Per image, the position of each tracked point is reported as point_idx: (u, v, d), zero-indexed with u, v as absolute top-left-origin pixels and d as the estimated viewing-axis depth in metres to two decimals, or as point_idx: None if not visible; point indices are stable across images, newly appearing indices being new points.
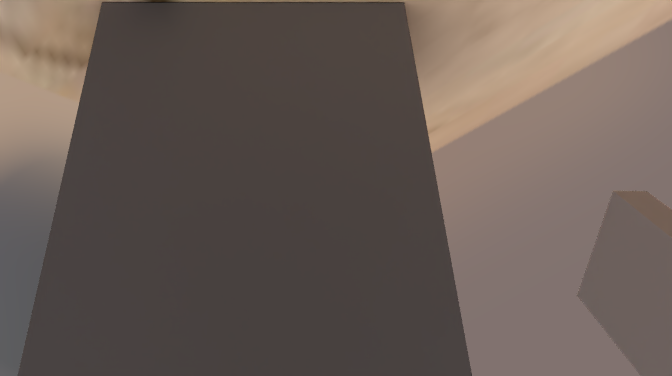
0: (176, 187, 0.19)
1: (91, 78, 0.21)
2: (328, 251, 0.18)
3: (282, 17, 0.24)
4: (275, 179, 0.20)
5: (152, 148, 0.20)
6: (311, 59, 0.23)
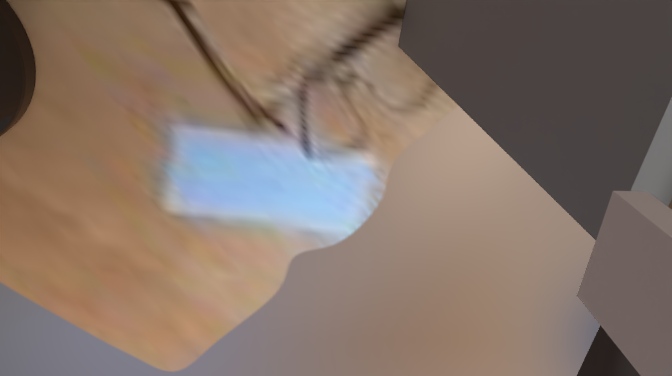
0: (445, 12, 0.32)
1: (412, 55, 0.39)
2: None
3: None
4: None
5: (433, 25, 0.34)
6: None
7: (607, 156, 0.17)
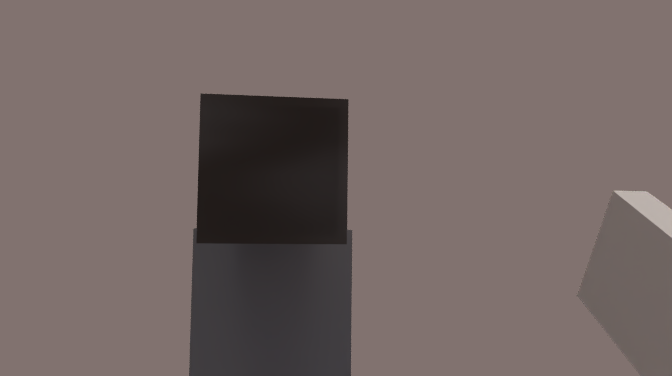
0: None
1: None
2: None
3: None
4: None
5: None
6: None
7: None
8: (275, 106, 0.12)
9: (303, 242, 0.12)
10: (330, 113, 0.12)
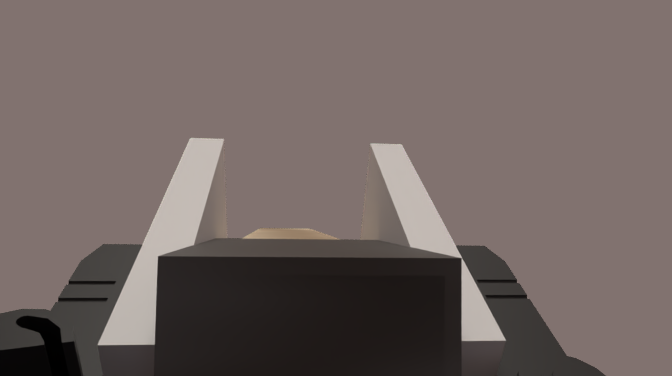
0: None
1: None
2: None
3: None
4: None
5: None
6: None
7: None
8: (314, 277, 0.06)
9: None
10: (426, 288, 0.06)
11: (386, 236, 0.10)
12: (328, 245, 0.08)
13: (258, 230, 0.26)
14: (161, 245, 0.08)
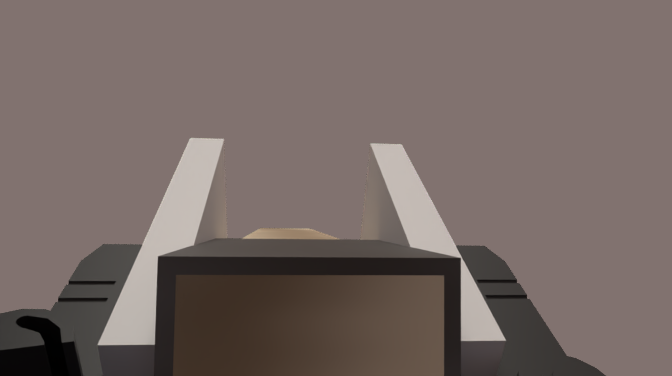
0: None
1: None
2: None
3: None
4: None
5: None
6: None
7: None
8: (313, 277, 0.06)
9: None
10: (425, 288, 0.06)
11: (386, 236, 0.10)
12: (328, 245, 0.08)
13: (258, 230, 0.26)
14: (161, 245, 0.08)
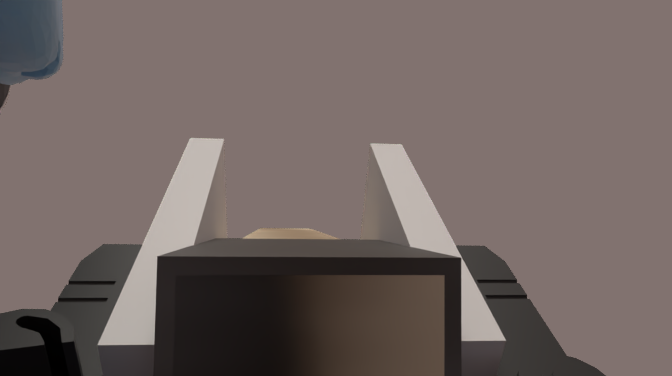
0: None
1: None
2: None
3: None
4: None
5: None
6: None
7: None
8: (313, 277, 0.06)
9: None
10: (425, 288, 0.06)
11: (386, 236, 0.10)
12: (328, 245, 0.08)
13: (258, 230, 0.26)
14: (161, 245, 0.08)
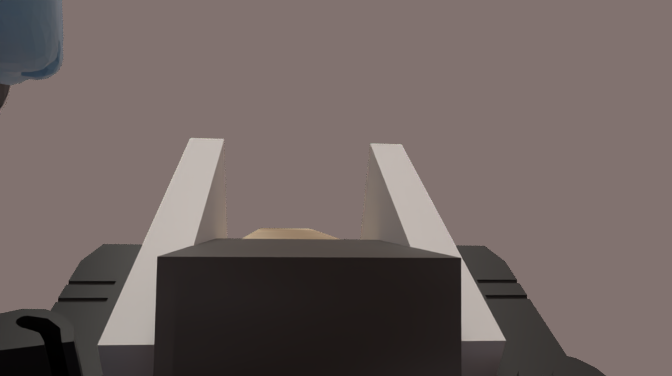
0: None
1: None
2: None
3: None
4: None
5: None
6: None
7: None
8: (313, 277, 0.06)
9: None
10: (425, 288, 0.06)
11: (386, 236, 0.10)
12: (328, 245, 0.08)
13: (258, 230, 0.26)
14: (161, 245, 0.08)
